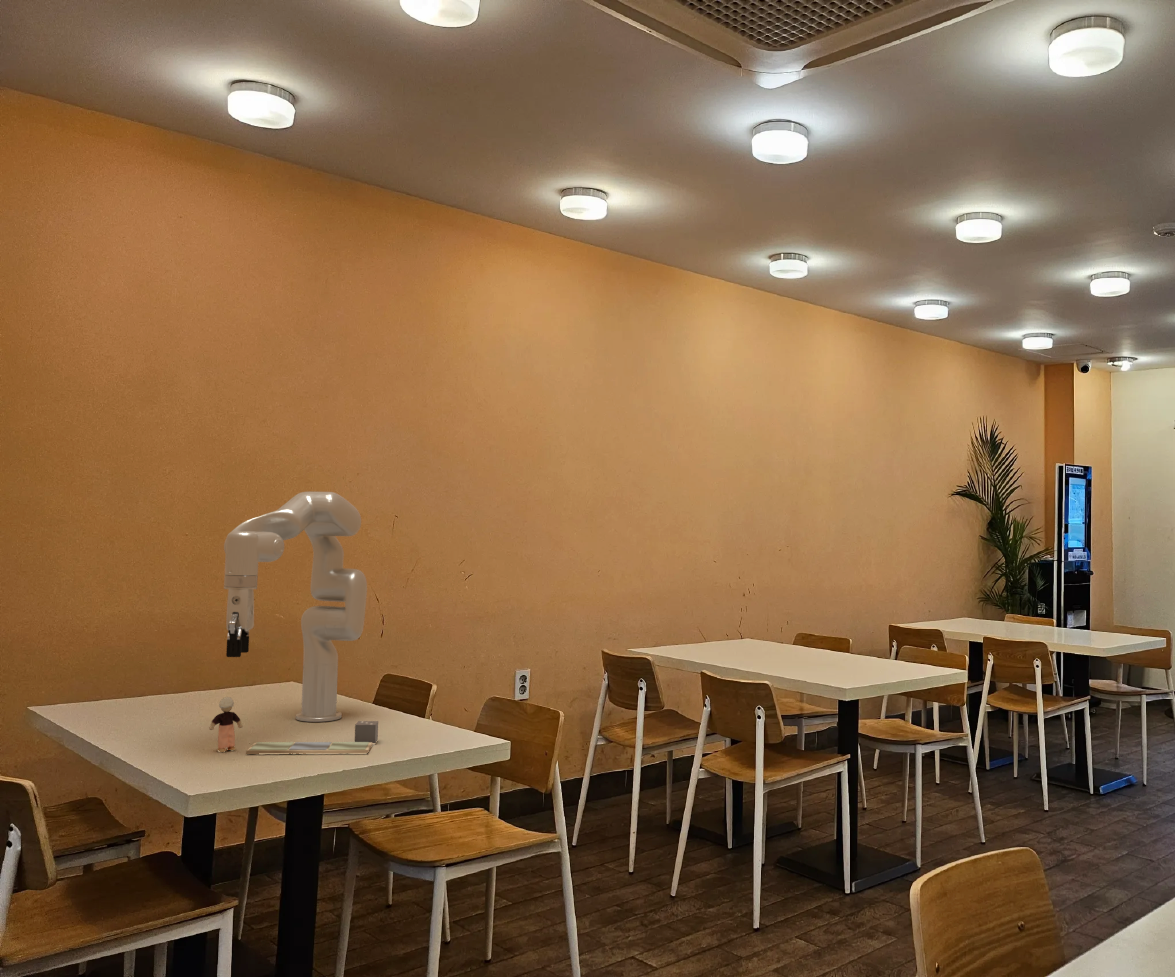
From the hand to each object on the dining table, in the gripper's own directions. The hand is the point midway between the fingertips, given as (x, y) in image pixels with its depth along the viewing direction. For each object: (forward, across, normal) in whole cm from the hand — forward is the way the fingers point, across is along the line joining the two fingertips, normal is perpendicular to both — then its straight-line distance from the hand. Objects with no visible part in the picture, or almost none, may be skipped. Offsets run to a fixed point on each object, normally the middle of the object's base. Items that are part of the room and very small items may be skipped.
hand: (237, 654), depth 229 cm
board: (+23, -1, -18) cm, 29 cm away
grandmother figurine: (+23, 0, +2) cm, 23 cm away
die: (+23, +7, -30) cm, 39 cm away
